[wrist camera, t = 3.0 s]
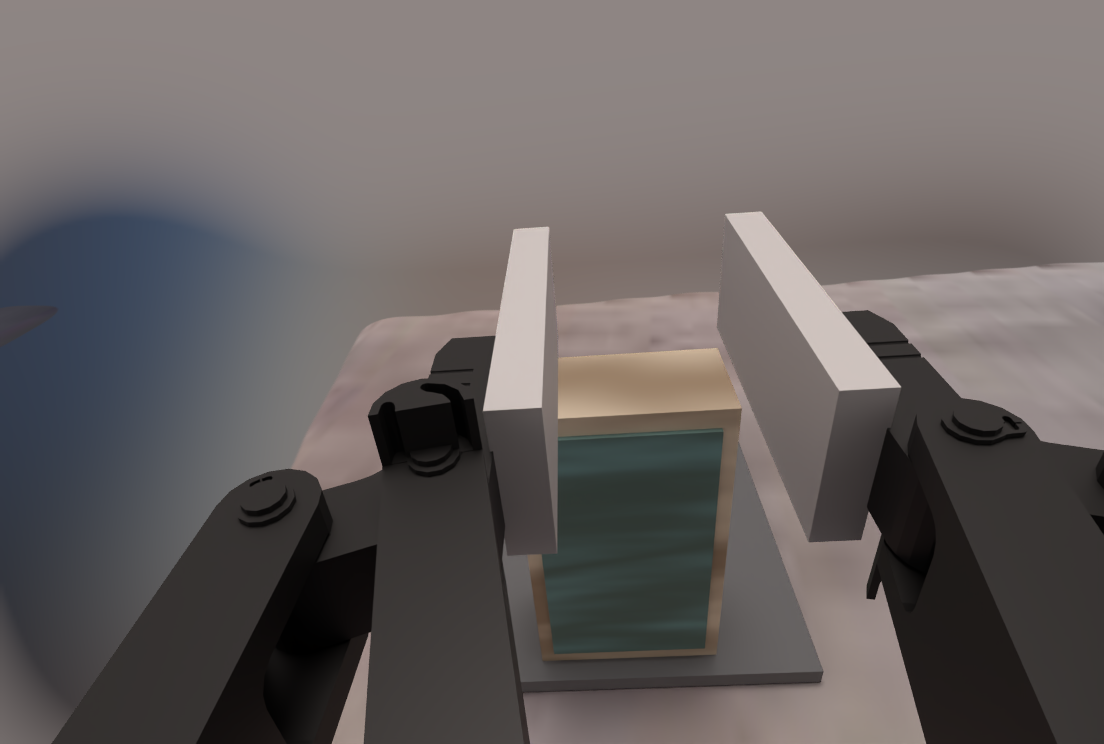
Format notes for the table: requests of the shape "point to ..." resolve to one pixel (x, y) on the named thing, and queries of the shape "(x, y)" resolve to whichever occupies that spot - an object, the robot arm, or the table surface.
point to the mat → (744, 631)
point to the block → (639, 507)
